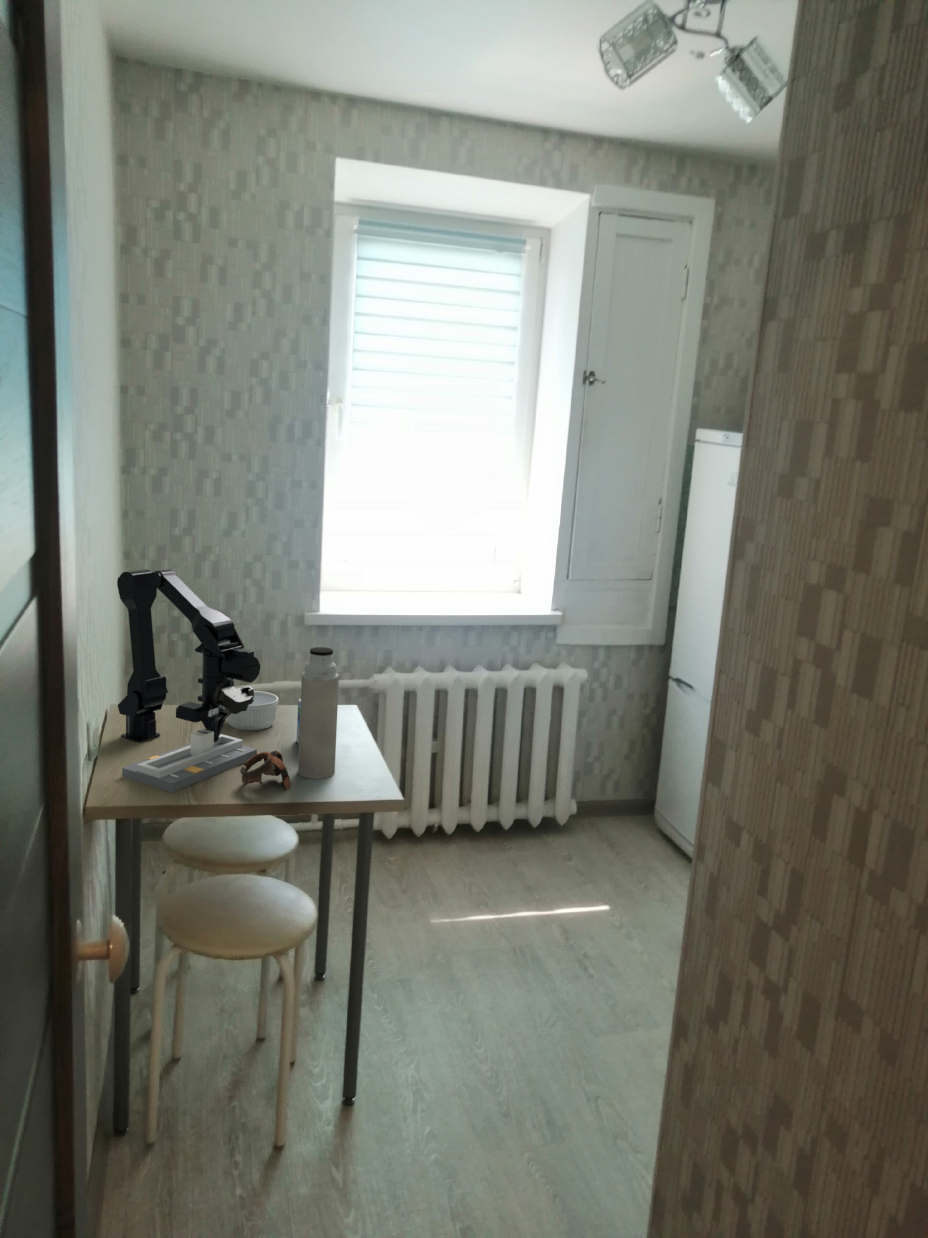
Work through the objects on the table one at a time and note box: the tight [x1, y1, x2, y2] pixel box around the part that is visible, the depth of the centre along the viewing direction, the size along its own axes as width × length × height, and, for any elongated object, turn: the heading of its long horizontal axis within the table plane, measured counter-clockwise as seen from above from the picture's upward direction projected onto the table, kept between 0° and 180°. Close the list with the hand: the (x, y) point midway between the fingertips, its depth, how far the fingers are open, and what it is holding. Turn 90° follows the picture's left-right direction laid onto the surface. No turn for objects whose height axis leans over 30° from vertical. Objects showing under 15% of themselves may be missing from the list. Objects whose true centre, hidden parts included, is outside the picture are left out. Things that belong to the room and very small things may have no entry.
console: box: [121, 733, 258, 793], centre depth 200 cm, size 14×26×4 cm, turn 152°
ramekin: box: [226, 690, 279, 731], centre depth 231 cm, size 13×13×7 cm
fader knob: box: [189, 728, 214, 756], centre depth 202 cm, size 3×4×5 cm
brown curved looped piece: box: [240, 750, 292, 792], centre depth 193 cm, size 12×10×8 cm
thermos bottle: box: [297, 646, 340, 780], centre depth 200 cm, size 8×8×28 cm
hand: (214, 741), depth 206 cm, fingers closed
